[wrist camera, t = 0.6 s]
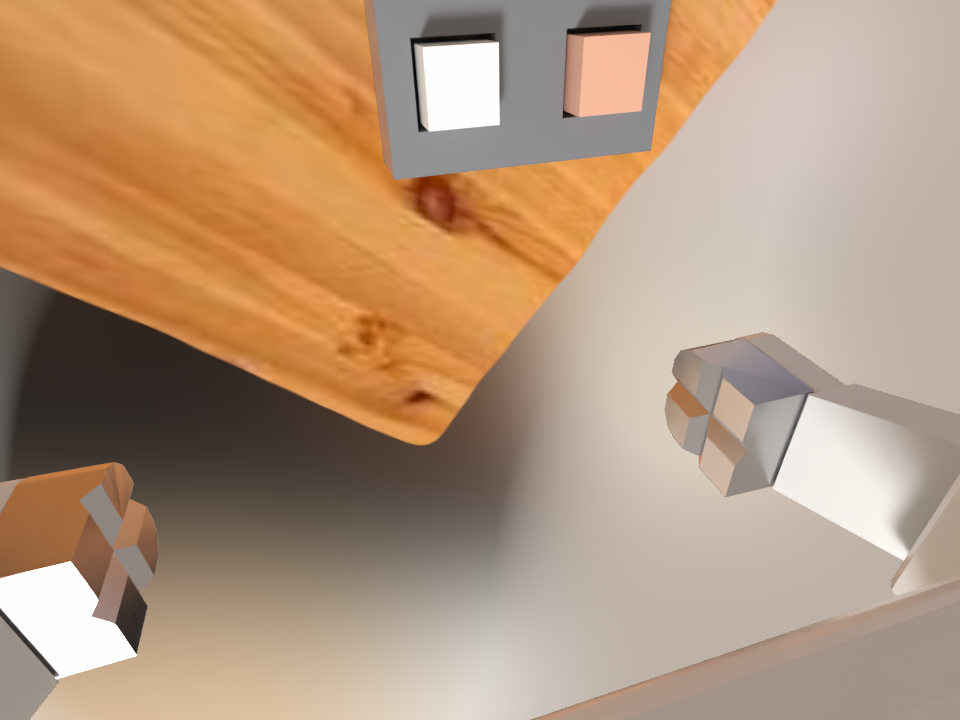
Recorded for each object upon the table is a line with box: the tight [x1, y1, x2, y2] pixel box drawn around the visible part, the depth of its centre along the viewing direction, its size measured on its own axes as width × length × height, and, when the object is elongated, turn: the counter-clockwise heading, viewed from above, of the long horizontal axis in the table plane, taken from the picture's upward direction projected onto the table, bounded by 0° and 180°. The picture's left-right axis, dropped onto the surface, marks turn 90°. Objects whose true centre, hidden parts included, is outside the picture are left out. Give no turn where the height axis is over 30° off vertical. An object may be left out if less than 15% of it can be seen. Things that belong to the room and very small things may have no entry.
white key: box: [414, 39, 500, 132], centre depth 38 cm, size 5×5×3 cm
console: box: [364, 0, 671, 180], centre depth 42 cm, size 12×21×5 cm, turn 92°
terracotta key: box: [563, 30, 651, 117], centre depth 40 cm, size 5×5×3 cm
